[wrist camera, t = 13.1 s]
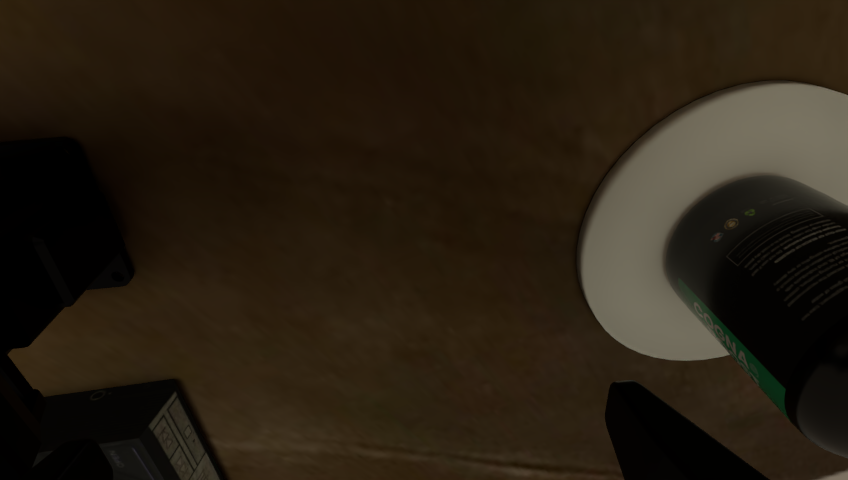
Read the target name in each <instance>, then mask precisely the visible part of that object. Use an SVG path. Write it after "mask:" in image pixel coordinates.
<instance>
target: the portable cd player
mask: <svg viewBox="0 0 848 480" xmlns="http://www.w3.org/2000/svg"><path fill="white" fill-rule="evenodd" d="M44 398H45V399H46V401H47V404H46V407H45V410H44V413H43V416H42V420H41V423H40V431H41V442H42V444H41V446H40V449H39V451H38V454H37V456H36V459H35V461H34V464H33V466H32V468H33V467H34V466H35V465H37V464H38V463H39V462H40V461H42V460H43V459H44V458H45V457H47V456H48V455H49V454H50V453H51V452H53V451H54V450H55V449H56V448H58V447H59V446H60V445H62V444H63V443H65V442H67V441H70V440H78V439H87V438H90V439H93V440H95V441H96V442H97V443H98V444H99V446H100V448H101V449H102V451H103V453H104V454H105V456H106V458H107V459H108V461H109V463H110V464H111V466H112V469H113V480H224V478H223V476H222V474H221V472H220V470H219V468H218V466H217V464H216V462H215V461H214V459H213V457H212V455H211V453H210V451H209V449H208V447H207V445H206V443H205V441H204V439H203V437H202V435H201V433H200V431H199V429H198V427H197V425H196V423H195V421H194V419H193V417H192V415H191V413H190V411H189V409H188V407H187V405H186V403H185V401H184V399H183V397H182V395H181V393H180V391H179V389H178V387H177V385H176V383H175V381H174V380H173V379H170V380H163V381H155V382H148V383H141V384H134V385H127V386H120V387H113V388H106V389H98V390H91V391H84V392H77V393H70V394H63V395H56V396H49V397H44Z"/></svg>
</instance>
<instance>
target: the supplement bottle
mask: <svg viewBox="0 0 848 480" xmlns="http://www.w3.org/2000/svg"><path fill="white" fill-rule="evenodd" d="M666 273H667V277H668V280H669V283H670V285H671V287H672V289H673V290H674V291H675V293H676V294H677V296H678V297H679V298H680V299H681V300H682V301H683V303H684V304H685V305H686V306H687V307H688V308H689V310H690V311H691V312H692V313H693V314H694V315H695V316H696V317H697V318H698V320H699V321H700V322H701V323H702V324H703V325H704V326H705V327H706V328H707V330H708V331H709V332H710V333H711V334H712V335H713V336H714V337H715V338H716V340H717V341H718V342H719V343H720V344H721V345H722V346H723V347H724V348H725V350H726V351H727V352H728V353H729V354H730V355H731V356H732V357H733V358H734V360H735V361H736V362H737V363H738V364H739V365H740V366H741V367H742V368H743V370H744V371H745V372H746V373H747V374H748V375H749V376H750V377H751V378H752V379H753V381H754V382H755V383H756V384H757V385H758V386H759V387H760V388H761V389H762V391H763V392H764V393H765V394H766V395H767V396H768V397H769V398H770V399H771V401H772V402H773V403H774V404H775V405H776V406H777V407H778V408H779V409H780V411H781V412H782V413H783V414H784V415H785V416H786V417H787V418H788V419H789V420H790V422H791V423H792V424H793V425H794V426H795V427H796V428H797V429H798V430H799V431H800V432H801V433H802V434H803V435H804V436H805V437H806V438H808V439H809V440H810V441H812V442H813V443H815V444H816V445H818V446H820V447H822V448H824V449H826V450H828V451H830V452H832V453H835V454H837V455H840V456H843V457H846V458H848V206H847V205H845V204H843V203H841V202H839V201H837V200H835V199H833V198H831V197H830V196H828V195H826V194H824V193H822V192H819V191H817V190H815V189H813V188H812V187H809V186H807V185H805V184H803V183H801V182H799V181H796V180H794V179H791V178H787V177H782V176H775V175H762V176H754V177H748V178H744V179H740V180H737V181H734V182H732V183H729V184H727V185H725V186H722V187H720V188H718V189H717V190H715V191H713V192H712V193H710V194H709V195H707V196H706V197H704V198H703V199H702V200H700V201H699V202H698V203H697V204H696V205H695V206H694V207H692V208H691V209H690V211H689V212H688V213H687V214H686V215H685V216H684V217H683V219H682V220H681V221H680V223H679V224H678V226H677V227H676V229H675V231H674V233H673V235H672V237H671V239H670V242H669V245H668V248H667V253H666Z"/></svg>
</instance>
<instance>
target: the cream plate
mask: <svg viewBox="0 0 848 480" xmlns="http://www.w3.org/2000/svg"><path fill="white" fill-rule="evenodd" d="M762 175H775V176H782V177H787V178H791V179H794V180H796V181H799V182H801V183H803V184H805V185H807V186H809V187H812V188H813V189H815V190H817V191H819V192H822V193H824V194H826V195H828V196H830V197H831V198H833V199H835V200H837V201H839V202H841V203H843V204H845V205H847V206H848V95H846V94H843V93H840V92H836V91H833V90H830V89H827V88H823V87H819V86H816V85H812V84H808V83H803V82H795V81H788V80H774V81H759V82H753V83H746V84H741V85H737V86H734V87H730V88H727V89H723V90H720V91H717V92H714V93H712V94H710V95H707V96H705V97H702V98H700V99H697V100H695V101H693V102H692V103H690V104H688V105H686V106H684V107H682V108H681V109H679V110H677V111H675V112H674V113H672V114H671V115H669V116H668V117H666V118H665V119H663V120H662V121H660V122H659V123H657V124H656V125H655V126H653V127H652V128H651V129H650V130H649V131H647V132H646V133H645V134H644V135H643V136H641V137H640V138H639V139H638V140H637V141H636V142H635V143H634V144H633V145H632V146H631V147H630V148H629V149H628V150H627V151H626V152H625V153H624V154H623V155H622V156H621V157H620V158H619V159H618V161H617V162H616V163H615V165H614V166H613V167H612V168H611V170H610V171H609V172H608V174H607V175H606V176H605V178H604V179H603V181H602V183H601V184H600V186H599V188H598V189H597V191H596V192H595V194H594V196H593V198H592V200H591V203H590V205H589V207H588V209H587V211H586V213H585V217H584V220H583V223H582V226H581V229H580V233H579V239H578V245H577V262H576V265H577V273H578V280H579V283H580V287H581V290H582V293H583V295H584V297H585V299H586V301H587V303H588V305H589V307H590V309H591V310H592V312H593V314H594V315H595V317H596V318H597V320H598V321H599V322H600V324H601V325H602V326H603V328H604V329H605V330H606V331H607V332H608V333H609V334H610V335H611V336H612V337H613V338H614V339H616V340H617V341H619V342H620V343H622V344H623V345H625V346H626V347H628V348H630V349H632V350H635V351H637V352H639V353H642V354H645V355H648V356H652V357H655V358H662V359H668V360H684V361H689V360H704V359H710V358H717V357H722V356H726V355H730V354H729V353H728V352H727V351H726V350H725V348H724V347H723V346H722V345H721V344H720V343H719V342H718V341H717V340H716V338H715V337H714V336H713V335H712V334H711V333H710V332H709V331H708V330H707V328H706V327H705V326H704V325H703V324H702V323H701V322H700V321H699V320H698V318H697V317H696V316H695V315H694V314H693V313H692V312H691V311H690V310H689V308H688V307H687V306H686V305H685V304H684V303H683V301H682V300H681V299H680V298H679V297H678V296H677V294H676V293H675V291H674V290H673V289H672V287H671V285H670V283H669V280H668V277H667V273H666V253H667V248H668V245H669V242H670V239H671V237H672V235H673V233H674V231H675V229H676V227H677V226H678V224H679V223H680V221H681V220H682V219H683V217H684V216H685V215H686V214H687V213H688V212H689V211H690V209H691V208H692V207H694V206H695V205H696V204H697V203H698V202H699V201H700V200H702V199H703V198H704V197H706V196H707V195H709V194H710V193H712V192H713V191H715V190H717V189H718V188H720V187H722V186H725V185H727V184H729V183H732V182H734V181H737V180H740V179H744V178H748V177H754V176H762Z"/></svg>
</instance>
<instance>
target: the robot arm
mask: <svg viewBox="0 0 848 480" xmlns="http://www.w3.org/2000/svg"><path fill="white" fill-rule="evenodd" d="M60 147H63V148H65V149H66V150H67V151H68V152H69V156H66V155H64V154H63V153H62V152H61V148H60ZM124 246H125V243H124V241H123V239H122V236H121V234H120V232H119V229H118V227H117V225H116V222H115V220H114V218H113V215H112V213H111V211H110V208H109V206H108V204H107V201H106V199H105V197H104V194H103V193H102V192H101V191H100V190H99V189H98V186H97V184H96V182H95V179H94V177H93V175H92V172H91V170H90V168H89V165H88V163H87V161H86V158H85V156H84V154H83V151H82V149H81V148H80V146H79V144H78V143H76V142H75V141H74V140H72V139H70V138H65V137H60V138H48V139H37V140H25V141H14V142H3V143H0V480H113V469H112V466H111V464H110V463H109V461H108V459H107V458H106V456H105V454H104V453H103V451H102V449H101V448H100V446H99V444H98V443H97V442H96V441H95V440H93V439H90V438H87V439H78V440H70V441H67V442H65V443H63V444H62V445H60V446H59V447H58V448H56V449H55V450H54V451H53V452H51V453H50V454H49V455H48V456H47V457H45V458H44V459H43V460H42V461H40V462H39V463H38V464H37V465H35V466H34V467H33V468H32V466H33V464H34V461H35V459H36V456H37V454H38V451H39V449H40V446H41V444H42V442H41V431H40V423H41V420H42V416H43V413H44V410H45V407H46V404H47V401H46V399H45V398H44V397H43V395H42V394H41V393H40V391H39V390H37V389H34V390H33V388H32V387H31V386H30V384H29V383H28V382H27V380H26V379H25V378H24V376H23V375H22V374H21V372H20V371H19V370H18V368H17V367H16V366H15V364H14V363H13V362H12V360H11V359H10V358H9V356H8V355H7V354H8V353H9V352H10V351H11V350H12V349H15V348H25V347H28V346H29V345H30V344H31V343H32V342H33V341H34V340H35V339H36V338H37V337H38V336H39V335H40V333H41V332H42V331H43V330H44V329H45V328H46V327H47V326H48V325H49V324H50V323H51V322H52V320H53V319H54V318H55V317H56V316H57V315H58V314H59V313H60V312H61V311H62V310H63V308H64V307H70V306H72V305H73V304H74V303H75V302H76V301H77V300H78V299H79V298H80V296H81V295H82V294H83V293H84V292H85V291H86V290H90V289H100V288H110V287H121V286H125V285H127V284H128V283H129V282H130V281H131V280H132V279H133V277H134V270H133V268H132V265H131V263H130V261H129V258H128V256H127V254H126V251H125V249H124ZM116 272H120V273H122V274H123V276H124V277H123V276H120V275H118V274H117V273H116ZM605 421H606V426H607V429H608V432H609V435H610V438H611V441H612V444H613V447H614V450H615V453H616V456H617V459H618V462H619V465H620V468H621V471H622V474H623V477H624V480H769V479H768V478H767V477H765V476H764V475H762V474H761V473H760V472H758V471H757V470H756V469H754V468H753V467H752V466H750V465H749V464H748V463H746V462H745V461H744V460H742V459H741V458H740V457H738V456H737V455H736V454H734V453H733V452H731V451H730V450H729V449H727V448H726V447H725V446H723V445H722V444H721V443H719V442H718V441H717V440H715V439H714V438H713V437H711V436H710V435H709V434H707V433H706V432H705V431H703V430H702V429H701V428H699V427H698V426H696V425H695V424H694V423H692V422H691V421H690V420H688V419H687V418H686V417H684V416H683V415H682V414H680V413H679V412H678V411H676V410H675V409H674V408H672V407H671V406H670V405H668V404H667V403H665V402H664V401H663V400H661V399H660V398H659V397H657V396H656V395H655V394H653V393H652V392H651V391H649V390H648V389H647V388H645V387H644V386H643V385H641V384H640V383H638V382H636V381H634V380H627V381H618V382H613V383H612V384H611V385H610V388H609V393H608V399H607V405H606V411H605Z"/></svg>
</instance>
